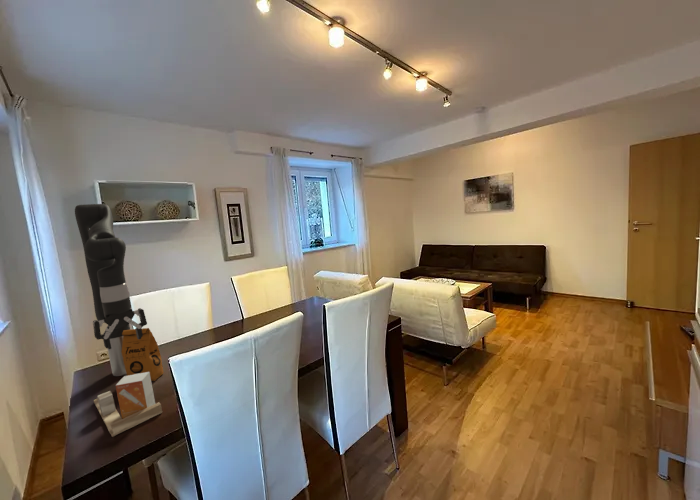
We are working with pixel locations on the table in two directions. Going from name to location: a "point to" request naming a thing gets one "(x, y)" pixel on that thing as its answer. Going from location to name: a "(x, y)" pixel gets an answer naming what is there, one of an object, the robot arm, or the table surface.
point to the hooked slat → (114, 419)
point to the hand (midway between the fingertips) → (124, 343)
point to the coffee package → (141, 354)
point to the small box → (134, 393)
